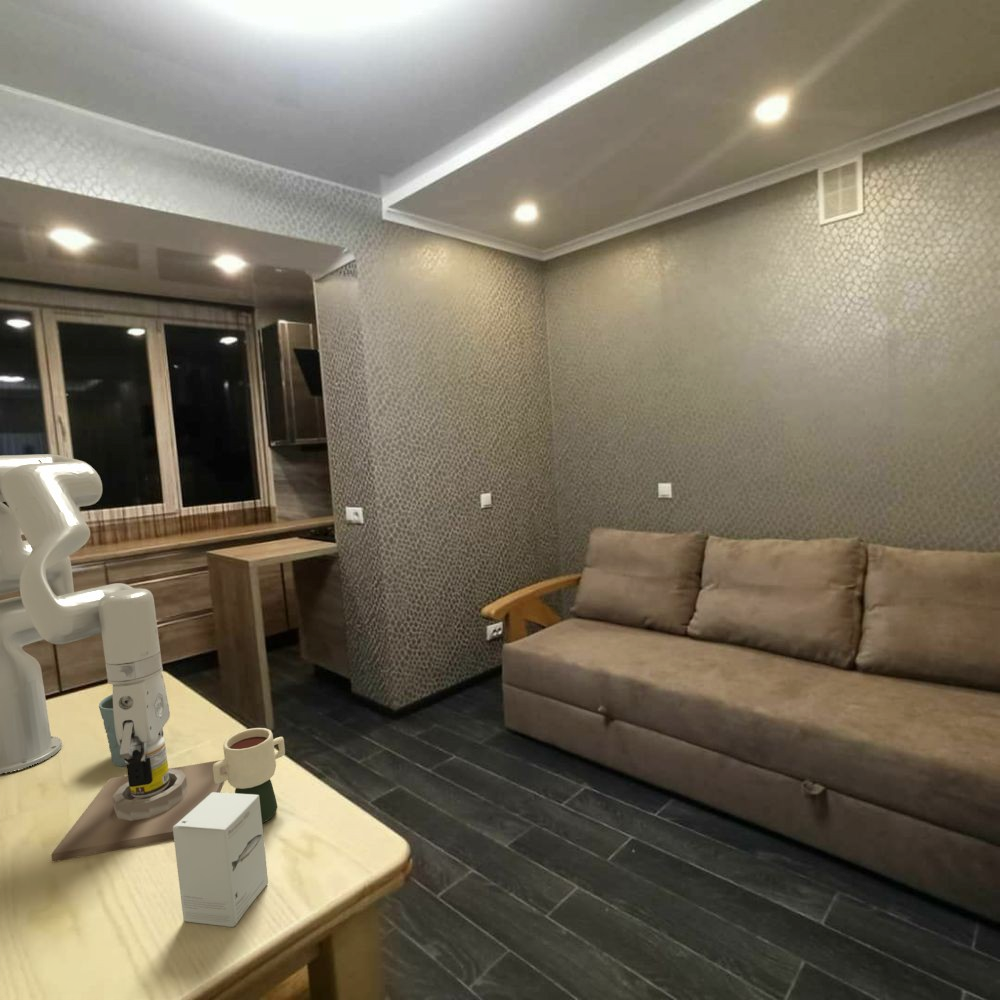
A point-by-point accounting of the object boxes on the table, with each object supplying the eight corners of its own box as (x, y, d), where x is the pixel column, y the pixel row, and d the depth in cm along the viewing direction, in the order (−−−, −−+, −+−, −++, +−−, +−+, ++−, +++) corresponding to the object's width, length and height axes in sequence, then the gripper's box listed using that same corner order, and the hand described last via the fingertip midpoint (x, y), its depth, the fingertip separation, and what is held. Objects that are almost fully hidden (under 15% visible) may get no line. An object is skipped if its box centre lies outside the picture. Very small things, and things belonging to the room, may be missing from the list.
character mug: (280, 792, 98) (272, 718, 97) (299, 809, 93) (292, 732, 92) (212, 824, 91) (202, 745, 90) (229, 845, 86) (219, 761, 84)
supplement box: (235, 929, 71) (223, 830, 69) (181, 922, 72) (169, 826, 71) (270, 883, 78) (261, 793, 76) (221, 878, 79) (211, 789, 78)
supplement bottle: (125, 792, 96) (117, 732, 95) (162, 776, 100) (155, 719, 99) (138, 804, 92) (130, 742, 91) (175, 787, 96) (168, 727, 95)
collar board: (52, 861, 85) (48, 837, 84) (110, 784, 104) (108, 765, 104) (202, 833, 89) (199, 810, 89) (231, 764, 108) (229, 745, 108)
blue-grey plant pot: (172, 737, 120) (166, 681, 119) (161, 762, 111) (154, 701, 110) (116, 748, 117) (108, 691, 116) (99, 775, 108) (90, 712, 106)
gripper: (140, 684, 87) (155, 799, 88) (177, 646, 103) (188, 744, 105) (83, 691, 85) (99, 809, 87) (129, 652, 102) (142, 751, 103)
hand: (148, 772), depth 96 cm, fingers closed on supplement bottle, 5 cm apart
